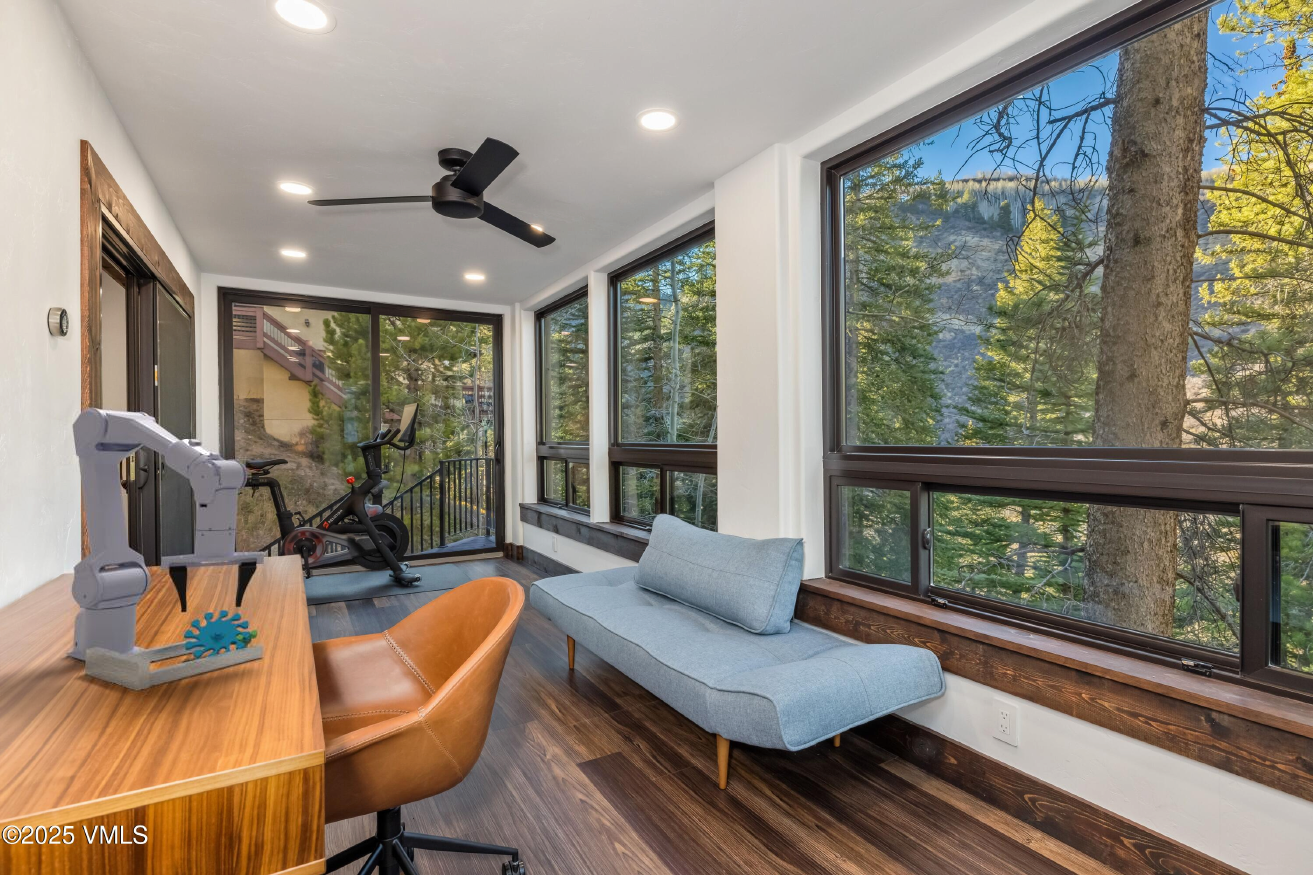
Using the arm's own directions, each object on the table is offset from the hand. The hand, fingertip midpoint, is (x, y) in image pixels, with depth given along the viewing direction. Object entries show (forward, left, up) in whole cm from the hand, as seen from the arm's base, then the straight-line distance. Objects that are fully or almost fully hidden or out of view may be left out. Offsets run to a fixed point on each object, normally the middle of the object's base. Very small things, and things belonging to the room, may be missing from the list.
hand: (211, 608), depth 110 cm
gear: (-5, +5, -10) cm, 12 cm away
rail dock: (-4, -2, -10) cm, 11 cm away
